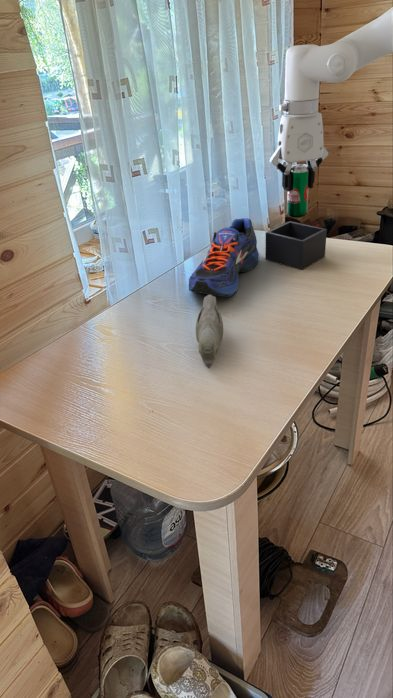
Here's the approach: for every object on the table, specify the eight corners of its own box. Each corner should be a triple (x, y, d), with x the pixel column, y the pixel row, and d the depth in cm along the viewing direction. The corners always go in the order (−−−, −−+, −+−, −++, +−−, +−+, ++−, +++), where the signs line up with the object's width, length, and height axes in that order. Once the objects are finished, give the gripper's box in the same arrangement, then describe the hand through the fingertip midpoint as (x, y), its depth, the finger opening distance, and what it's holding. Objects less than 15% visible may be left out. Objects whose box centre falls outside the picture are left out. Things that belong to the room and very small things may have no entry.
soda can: (282, 215, 131) (283, 166, 124) (296, 210, 133) (298, 162, 127) (297, 219, 127) (299, 169, 121) (311, 214, 129) (314, 165, 123)
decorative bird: (194, 369, 96) (191, 335, 92) (198, 326, 109) (196, 294, 105) (223, 368, 95) (221, 334, 91) (224, 325, 109) (222, 294, 105)
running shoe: (176, 306, 118) (171, 254, 111) (220, 253, 143) (218, 208, 136) (227, 312, 114) (225, 259, 107) (263, 256, 139) (263, 210, 132)
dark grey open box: (325, 256, 136) (327, 229, 132) (301, 270, 130) (303, 241, 126) (288, 247, 143) (289, 220, 139) (265, 259, 137) (265, 232, 133)
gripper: (272, 114, 112) (271, 197, 122) (343, 105, 115) (336, 187, 125) (259, 109, 118) (259, 189, 128) (327, 102, 121) (322, 180, 131)
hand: (298, 187), depth 126 cm, fingers closed on soda can, 5 cm apart
